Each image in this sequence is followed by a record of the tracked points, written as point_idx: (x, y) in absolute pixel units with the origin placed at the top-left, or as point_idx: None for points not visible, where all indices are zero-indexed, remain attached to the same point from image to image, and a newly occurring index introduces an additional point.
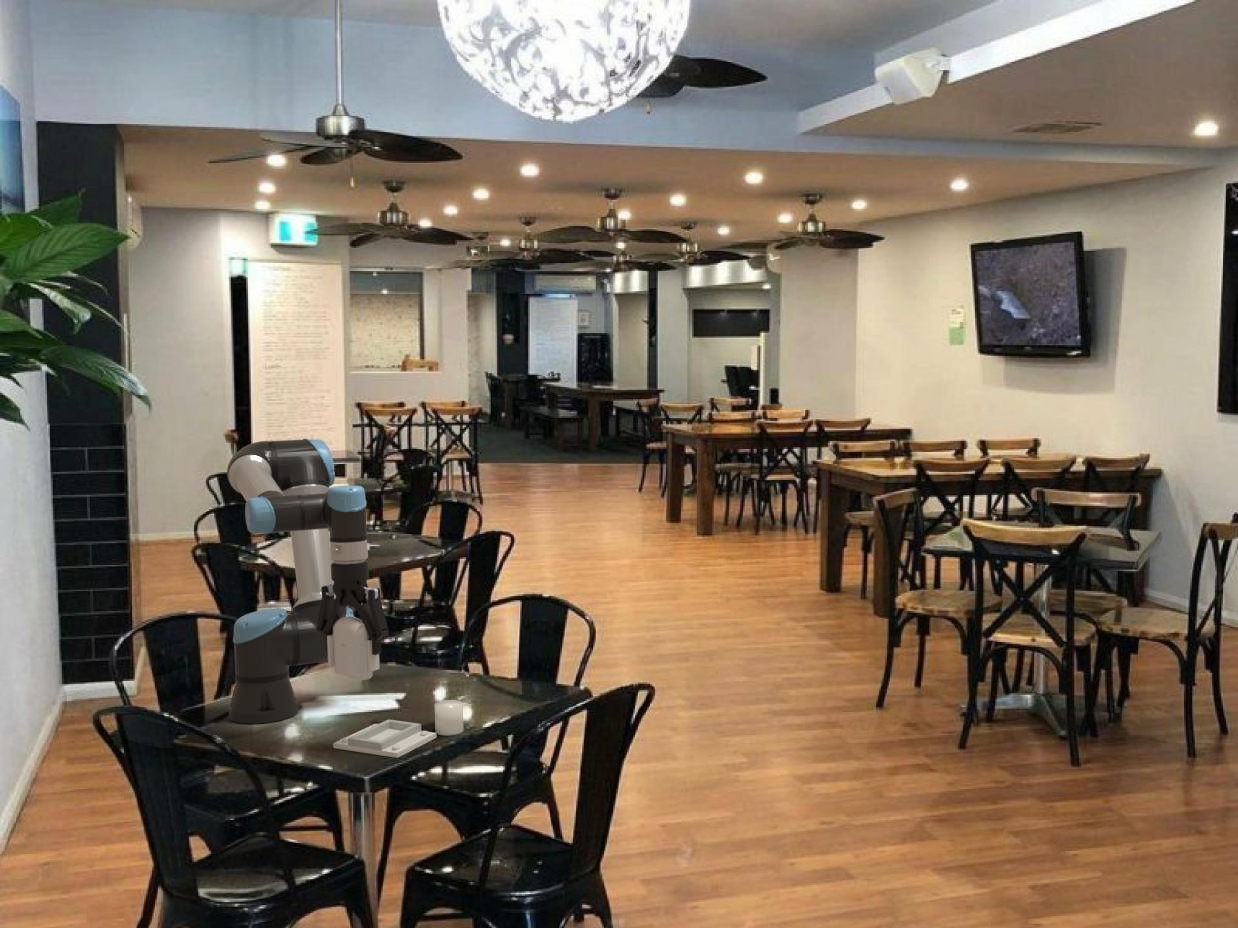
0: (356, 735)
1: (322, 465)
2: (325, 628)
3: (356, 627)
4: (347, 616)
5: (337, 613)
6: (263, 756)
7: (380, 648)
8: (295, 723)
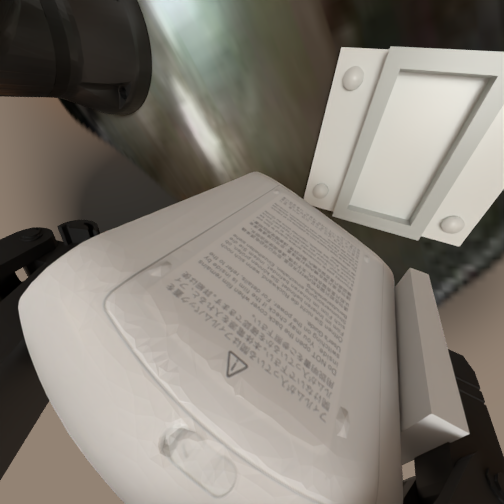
0: (343, 198)
1: None
2: None
3: None
4: (58, 411)
5: (7, 444)
6: None
7: (476, 394)
8: (178, 81)
